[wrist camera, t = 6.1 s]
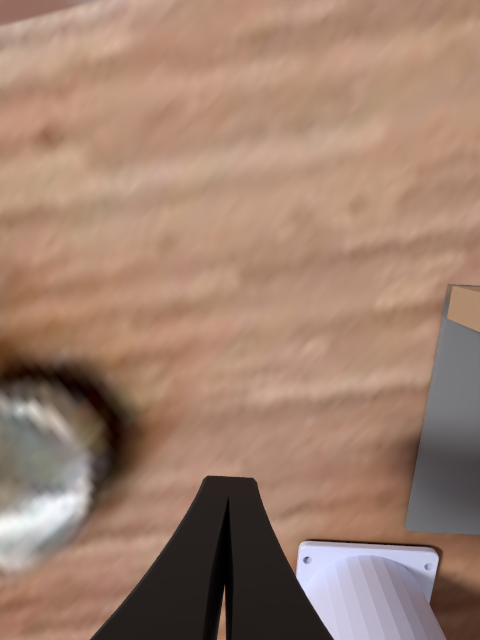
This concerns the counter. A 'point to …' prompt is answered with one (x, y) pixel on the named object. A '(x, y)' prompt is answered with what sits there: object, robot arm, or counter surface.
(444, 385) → the l-shaped bracket
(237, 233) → the counter surface
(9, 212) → the counter surface
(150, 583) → the robot arm
